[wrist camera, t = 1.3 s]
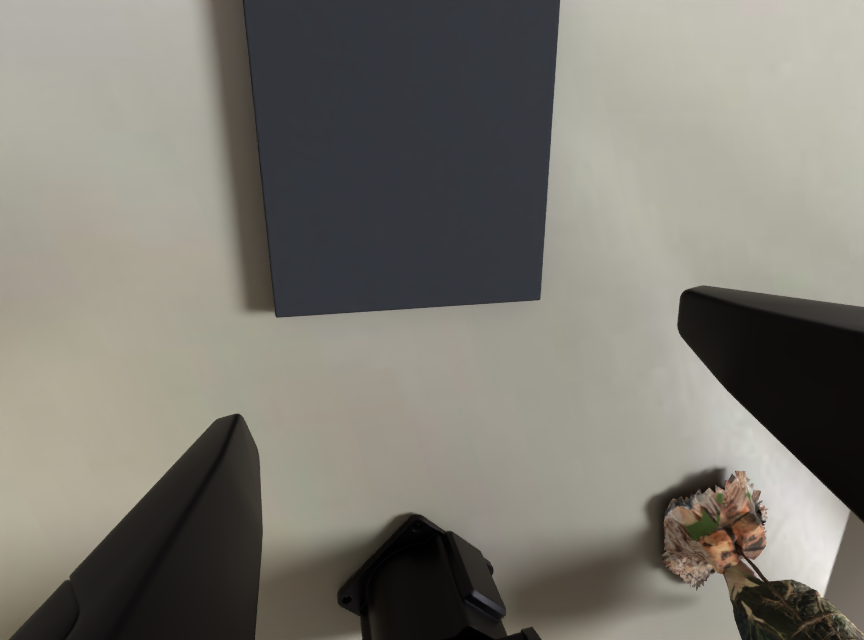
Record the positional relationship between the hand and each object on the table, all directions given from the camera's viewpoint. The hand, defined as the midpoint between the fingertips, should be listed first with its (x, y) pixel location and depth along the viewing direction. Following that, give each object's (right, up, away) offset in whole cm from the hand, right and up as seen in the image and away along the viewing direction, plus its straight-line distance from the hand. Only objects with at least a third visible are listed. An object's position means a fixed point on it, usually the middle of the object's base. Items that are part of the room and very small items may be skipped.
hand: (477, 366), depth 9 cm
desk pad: (-2, +12, +10) cm, 16 cm away
